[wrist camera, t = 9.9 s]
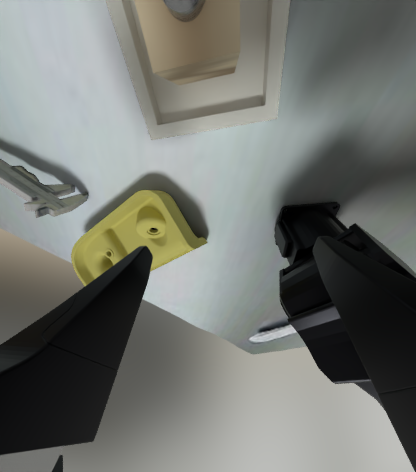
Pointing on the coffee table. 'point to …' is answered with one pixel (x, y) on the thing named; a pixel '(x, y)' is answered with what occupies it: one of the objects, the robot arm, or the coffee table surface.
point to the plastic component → (135, 235)
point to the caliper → (39, 192)
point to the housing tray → (214, 89)
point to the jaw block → (191, 37)
